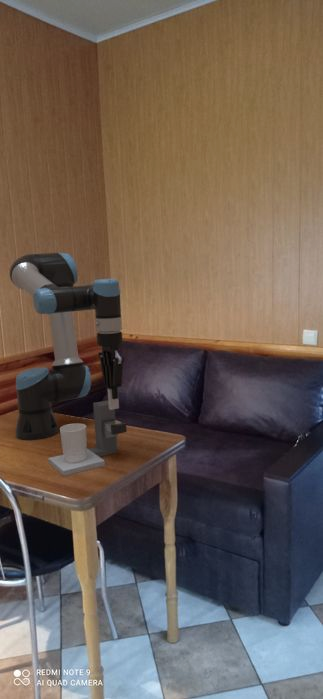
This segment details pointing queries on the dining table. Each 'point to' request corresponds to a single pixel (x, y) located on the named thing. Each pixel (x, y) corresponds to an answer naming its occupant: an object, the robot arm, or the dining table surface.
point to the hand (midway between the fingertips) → (113, 408)
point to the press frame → (93, 454)
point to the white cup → (74, 442)
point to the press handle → (113, 428)
